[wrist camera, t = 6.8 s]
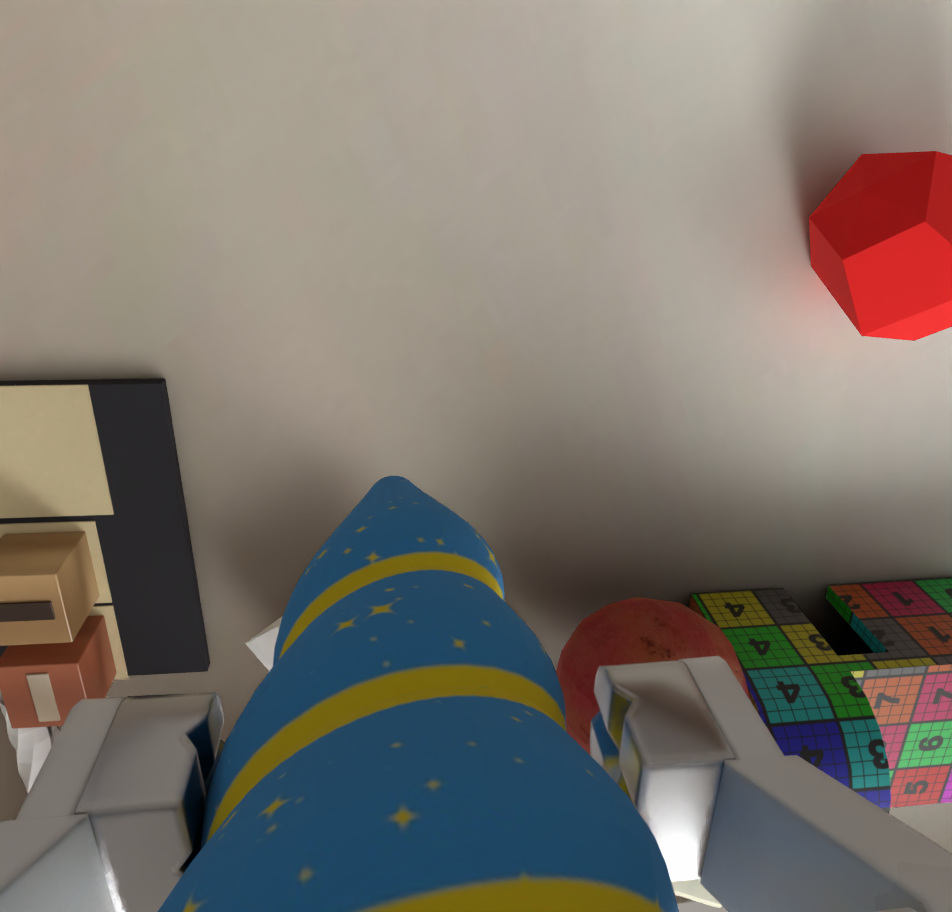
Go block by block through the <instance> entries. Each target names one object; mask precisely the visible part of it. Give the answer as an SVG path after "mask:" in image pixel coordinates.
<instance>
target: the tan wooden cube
mask: <svg viewBox="0 0 952 912" xmlns="http://www.w3.org/2000/svg"><path fill="white" fill-rule="evenodd" d="M98 597H99V591H98V586H97V582H96V577H95V573H94V568H93V563H92V559H91V554H90V550H89V545H88V541H87V536H86V532H85V531H78V532H49V533H20V534H4V535H3V536H2V537H1V538H0V646H5V645H25V644H46V643H67V642H73V640H74V639H75V637H76V635H77V633H78V632H79V630H80V628H81V627H82V625H83V623H84V621H85V620H86V618H87V616H88V614H89V613H90V611H91V609H92V607H93V606H94V604H95V602H96V601H97V599H98Z"/></svg>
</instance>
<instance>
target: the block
mask: <svg viewBox="0 0 952 912" xmlns="http://www.w3.org/2000/svg"><path fill="white" fill-rule="evenodd" d="M826 599H827V600H828V601H829V602H830V603H831V604H832V605H833V607H834V608H835V609H836V610H837V611H838V612H839V613H840V615H841V616H842V617H843V618H844V619H845V620H846V621H847V623H848V624H849V625H850V626H851V627H852V628H853V629H854V631H855V632H856V633H857V634H858V635H859V636H860V637H861V638H862V640H863V641H864V642H865V643H866V644H867V645H868V646H869V648H870V649H871V650H872V651H873V652H874V653H869V654H855V655H841V656H838V655H837V654H836V653H835V652H834V650H833V649H832V648H831V647H830V646H829V644H828V643H827V642H826V641H825V639H824V638H823V637H822V636H821V634H820V633H819V632H818V631H817V629H816V628H815V627H814V626H813V625H812V623H811V622H810V621H809V620H808V618H807V617H806V616H805V615H804V613H803V612H802V611H801V610H800V608H799V607H798V606H797V605H796V603H795V602H794V601H793V600H792V599H791V597H790V596H789V595H788V594H787V592H786V591H785V590H784V589H783V588H776V589H760V590H743V591H727V592H711V593H695V594H691V600H690V607H689V609H691V610H693V611H694V612H696V613H698V614H699V615H701V616H702V617H704V618H705V619H707V620H709V621H710V622H712V623H713V624H715V625H716V626H718V627H719V628H720V629H721V630H722V632H723V633H724V635H725V636H726V637H727V639H728V640H729V641H730V643H731V644H732V646H733V648H734V651H735V653H736V656H737V659H738V661H739V664H740V666H741V669H742V671H743V674H744V677H745V679H746V684H747V687H748V691H749V695H750V698H751V703H752V704H753V706H754V708H755V709H756V711H757V712H758V714H759V716H760V717H761V719H762V720H763V722H764V724H765V725H766V727H767V729H768V730H769V732H770V733H771V735H772V737H773V738H774V740H775V742H776V743H777V745H778V746H779V748H780V750H781V751H782V753H783V754H784V756H790V755H797V756H799V757H800V758H802V759H804V760H805V761H807V762H808V763H810V764H812V765H813V766H815V767H816V768H818V769H819V770H821V771H823V772H824V773H826V774H827V775H829V776H830V777H832V778H834V779H835V780H837V781H838V782H840V783H842V784H843V785H845V786H846V787H848V788H849V789H851V790H853V791H854V792H856V793H857V794H859V795H860V796H862V797H864V798H865V799H867V800H868V801H870V802H872V803H873V804H875V805H876V806H878V807H879V808H881V809H883V810H884V811H886V812H887V813H889V810H890V808H891V807H902V806H913V805H924V804H935V803H946V802H952V578H937V579H921V580H905V581H889V582H873V583H857V584H840V585H829V586H828V590H827V594H826Z"/></svg>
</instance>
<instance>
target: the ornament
mask: <svg viewBox="0 0 952 912" xmlns="http://www.w3.org/2000/svg"><path fill="white" fill-rule="evenodd" d="M504 597H505V596H504V585H503V576H502V573H501V570H500V567H499V564H498V562H497V560H496V558H495V555H494V553H493V551H492V549H491V548H490V547H489V545H488V544H487V543H486V541H485V540H484V539H483V538H482V536H481V535H480V534H479V533H478V532H477V531H476V530H475V529H474V528H473V527H472V526H471V525H470V524H469V523H468V522H466V521H465V520H464V519H462V518H461V517H459V516H458V515H457V514H455V513H454V512H453V511H451V510H450V509H449V508H447V507H446V506H444V505H442V504H441V503H439V502H438V501H436V500H435V499H433V498H432V497H430V496H429V495H427V494H426V493H424V492H423V491H421V490H420V489H419V488H417V487H416V486H415V485H414V484H413V483H411V482H410V481H409V480H407V479H406V478H404V477H400V476H388V477H384V478H382V479H380V480H379V481H378V482H376V483H375V484H374V486H373V487H372V488H371V489H370V490H369V492H368V493H367V494H366V495H365V497H364V498H363V499H362V500H361V501H360V503H359V504H358V505H357V506H356V507H355V508H354V509H353V510H352V512H351V513H350V514H349V515H348V516H347V517H346V518H345V520H344V521H343V522H342V523H341V524H340V525H339V526H338V528H337V529H336V530H335V531H334V532H333V533H332V535H331V536H330V537H329V538H328V540H327V541H326V542H325V543H324V545H323V546H322V547H321V548H320V550H319V551H318V552H317V553H316V555H315V556H314V557H313V559H312V560H311V562H310V563H309V565H308V566H307V568H306V569H305V571H304V572H303V574H302V576H301V577H300V579H299V581H298V583H297V585H296V587H295V589H294V591H293V593H292V595H291V597H290V599H289V602H288V604H287V607H286V609H285V612H284V614H283V617H282V620H281V624H280V628H279V632H278V636H277V640H276V644H275V648H274V659H273V667H272V669H271V670H270V671H269V673H268V674H267V676H266V677H265V678H264V680H263V681H262V682H261V684H260V685H259V686H258V688H257V689H256V691H255V692H254V694H253V695H252V697H251V699H250V700H249V702H248V704H247V705H246V707H245V708H244V710H243V712H242V713H241V715H240V717H239V718H238V720H237V722H236V724H235V725H234V727H233V729H232V731H231V733H230V735H229V737H228V738H227V740H226V742H225V745H224V748H223V750H222V753H221V756H220V759H219V761H218V764H217V767H216V769H215V772H214V775H213V778H212V782H211V785H210V788H209V792H208V795H207V799H206V804H205V813H204V821H203V829H202V838H201V851H200V852H199V853H198V855H197V856H196V857H195V858H194V860H193V861H192V862H191V864H190V865H189V867H188V868H187V869H186V871H185V872H184V874H183V875H182V877H181V878H180V880H179V881H178V882H177V884H176V885H175V887H174V888H173V890H172V891H171V893H170V894H169V896H168V897H167V898H166V900H165V901H164V903H163V904H162V906H161V907H160V909H159V910H158V912H679V910H678V906H677V902H676V897H675V893H674V889H673V885H672V882H671V878H670V875H669V871H668V868H667V864H666V862H665V860H664V857H663V855H662V853H661V850H660V848H659V845H658V843H657V841H656V838H655V836H654V835H653V833H652V832H651V830H650V829H649V827H648V826H647V824H646V823H645V821H644V820H643V818H642V817H641V815H640V814H639V812H638V811H637V809H636V808H635V806H634V805H633V803H632V802H631V800H630V799H629V797H628V796H627V795H626V794H625V792H624V791H623V790H622V789H621V788H620V787H619V786H618V785H617V783H616V782H615V781H614V780H613V779H612V778H611V777H610V776H609V774H608V773H607V772H606V771H605V770H604V769H603V768H602V766H601V765H600V764H599V763H598V762H597V761H596V760H595V759H593V758H592V757H591V756H590V755H589V754H588V753H587V752H586V751H585V750H584V749H583V748H582V747H581V746H580V745H579V744H578V743H577V742H576V741H575V740H574V739H573V738H572V737H571V736H570V735H569V734H568V733H567V730H566V711H565V701H564V696H563V691H562V689H561V686H560V683H559V680H558V677H557V674H556V672H555V669H554V666H553V664H552V661H551V659H550V657H549V656H548V654H547V653H546V651H545V650H544V648H543V646H542V645H541V643H540V642H539V640H538V639H537V637H536V635H535V634H534V633H533V632H532V631H531V629H530V628H529V627H528V626H527V625H526V623H525V622H524V621H523V620H522V619H521V618H520V617H519V616H518V615H517V614H516V613H515V612H514V611H513V610H512V609H511V608H510V606H509V605H508V604H507V603H506V602H505V601H504Z"/></svg>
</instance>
